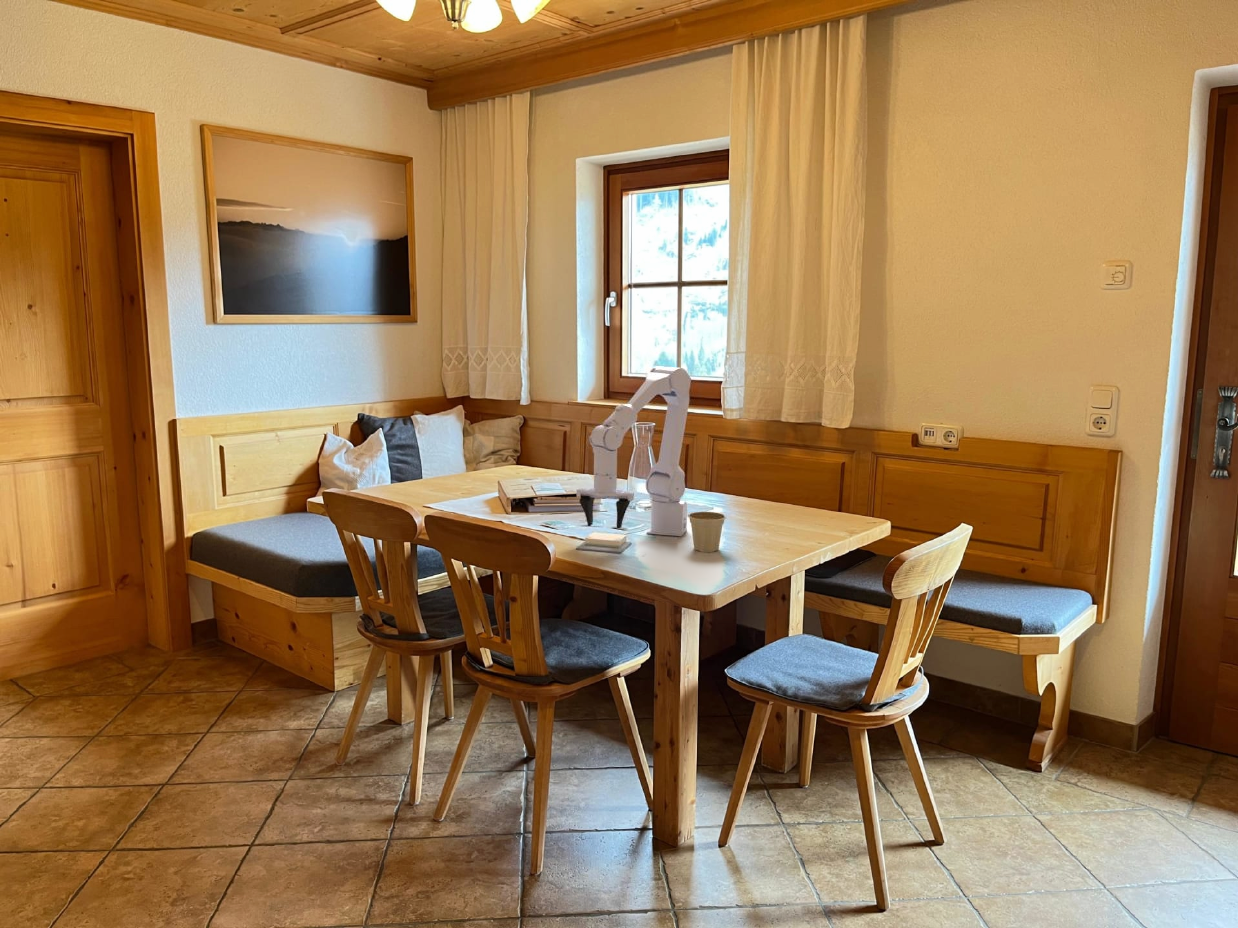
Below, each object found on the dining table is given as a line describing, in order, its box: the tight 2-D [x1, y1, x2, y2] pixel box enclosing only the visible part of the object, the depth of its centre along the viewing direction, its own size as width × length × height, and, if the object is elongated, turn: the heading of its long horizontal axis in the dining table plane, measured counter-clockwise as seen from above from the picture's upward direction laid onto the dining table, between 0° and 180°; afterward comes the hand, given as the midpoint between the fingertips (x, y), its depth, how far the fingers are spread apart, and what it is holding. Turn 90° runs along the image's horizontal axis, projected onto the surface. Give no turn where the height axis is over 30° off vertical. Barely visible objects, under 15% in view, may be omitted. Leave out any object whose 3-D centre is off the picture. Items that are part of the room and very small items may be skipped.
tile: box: [584, 531, 627, 547], centre depth 235 cm, size 9×2×6 cm
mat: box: [575, 541, 632, 554], centre depth 233 cm, size 12×10×1 cm
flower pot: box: [687, 511, 727, 553], centre depth 231 cm, size 9×9×9 cm
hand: (604, 526), depth 235 cm, fingers open, 7 cm apart
